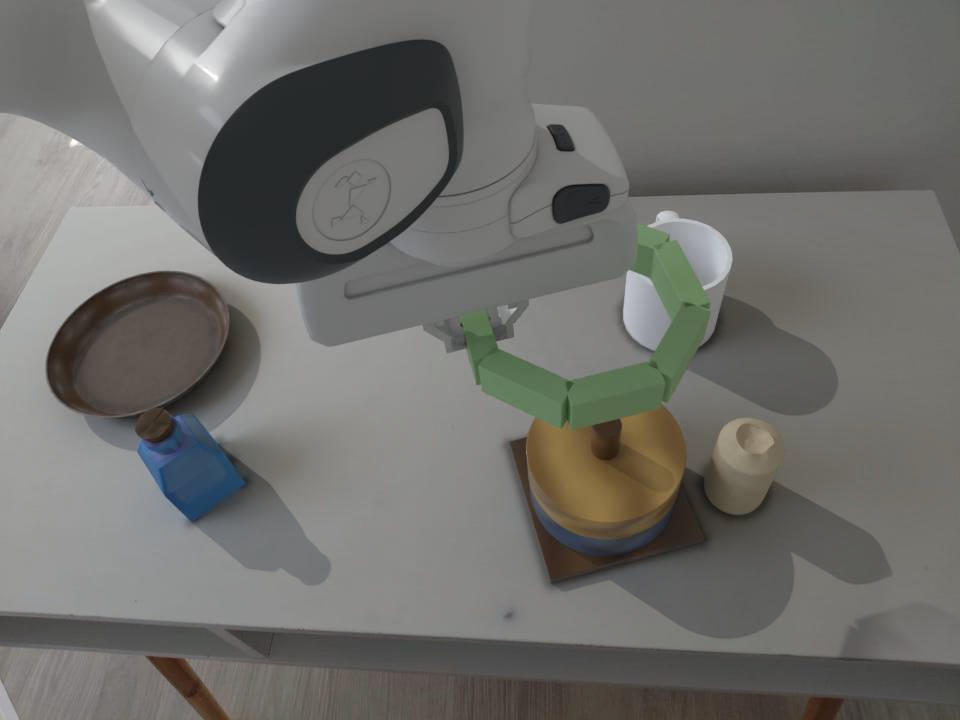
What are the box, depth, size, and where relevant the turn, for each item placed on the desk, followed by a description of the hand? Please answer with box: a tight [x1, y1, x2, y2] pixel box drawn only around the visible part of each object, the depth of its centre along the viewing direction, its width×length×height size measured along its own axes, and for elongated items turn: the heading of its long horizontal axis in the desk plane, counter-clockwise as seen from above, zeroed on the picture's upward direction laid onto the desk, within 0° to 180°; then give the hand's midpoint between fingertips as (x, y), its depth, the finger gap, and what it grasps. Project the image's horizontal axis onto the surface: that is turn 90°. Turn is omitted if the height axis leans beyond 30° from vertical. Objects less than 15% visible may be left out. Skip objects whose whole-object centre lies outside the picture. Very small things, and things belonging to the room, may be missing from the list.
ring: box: [460, 222, 711, 430], centre depth 51 cm, size 16×16×3 cm
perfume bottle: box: [134, 407, 247, 523], centre depth 72 cm, size 6×6×12 cm
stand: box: [508, 403, 705, 584], centre depth 67 cm, size 14×14×13 cm
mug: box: [622, 210, 733, 352], centre depth 80 cm, size 13×10×10 cm
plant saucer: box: [44, 270, 230, 419], centre depth 86 cm, size 21×21×3 cm
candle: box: [703, 417, 786, 516], centre depth 67 cm, size 6×6×10 cm
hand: (478, 337), depth 51 cm, fingers closed on ring, 2 cm apart
